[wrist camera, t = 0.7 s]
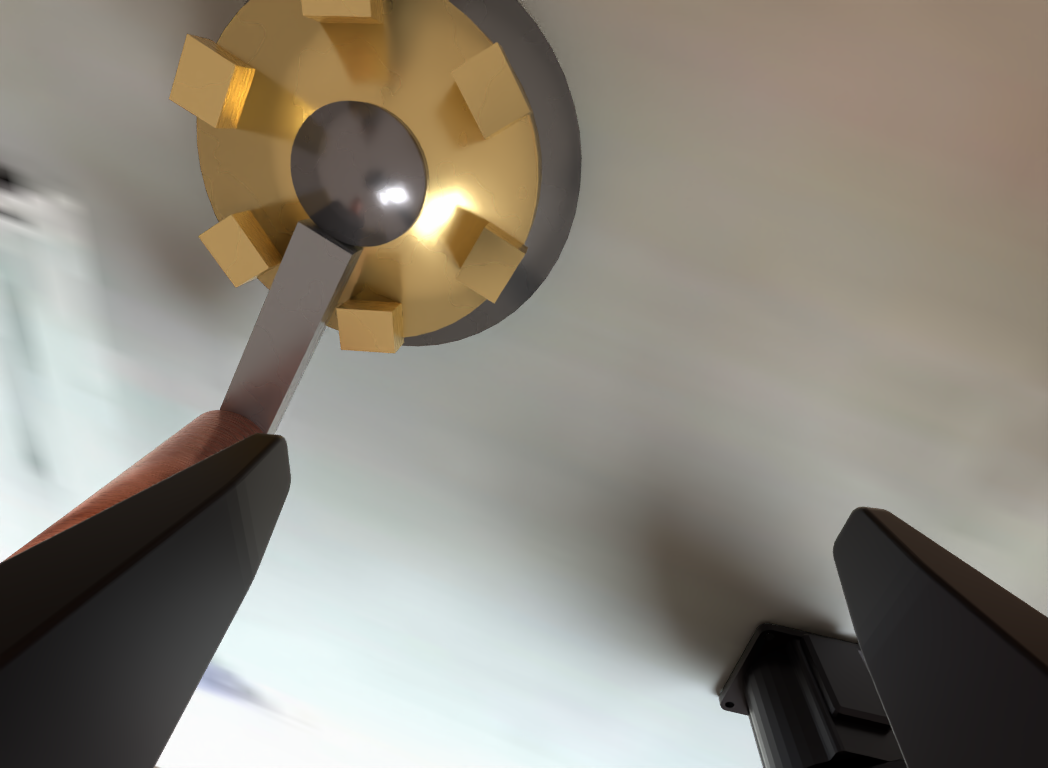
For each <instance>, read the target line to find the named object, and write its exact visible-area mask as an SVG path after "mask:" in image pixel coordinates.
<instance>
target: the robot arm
mask: <svg viewBox="0 0 1048 768" xmlns="http://www.w3.org/2000/svg"><path fill="white" fill-rule="evenodd" d="M290 483H291V474H290V466H289V457H288V449H287V443H286V440H285V438H284V437H282V436H280V435H273V434H265V433H255V434H253V435H251V436H249V437H247V438H245V439H243V440H241V441H239V442H237V443H235V444H233V445H231V446H229V447H227V448H225V449H223V450H221V451H219V452H217V453H215V454H213V455H211V456H209V457H207V458H205V459H204V460H202V461H200V462H198V463H196V464H194V465H192V466H190V467H188V468H186V469H184V470H182V471H180V472H178V473H176V474H174V475H172V476H170V477H168V478H166V479H164V480H162V481H160V482H158V483H156V484H154V485H152V486H150V487H149V488H147V489H145V490H143V491H141V492H139V493H137V494H135V495H133V496H131V497H129V498H127V499H125V500H123V501H121V502H119V503H117V504H115V505H113V506H111V507H109V508H107V509H105V510H103V511H101V512H99V513H97V514H95V515H94V516H92V517H90V518H88V519H86V520H84V521H82V522H80V523H78V524H76V525H74V526H72V527H70V528H68V529H66V530H64V531H62V532H60V533H58V534H56V535H54V536H52V537H50V538H48V539H46V540H44V541H42V542H40V543H38V544H36V545H35V546H33V547H31V548H29V549H27V550H25V551H23V552H21V553H19V554H17V555H15V556H13V557H11V558H9V559H7V560H5V561H3V562H1V563H0V768H154V767H155V765H156V763H157V761H158V759H159V757H160V755H161V753H162V752H163V750H164V748H165V746H166V744H167V742H168V740H169V738H170V737H171V735H172V733H173V731H174V729H175V727H176V725H177V723H178V722H179V720H180V718H181V716H182V714H183V712H184V710H185V708H186V706H187V705H188V703H189V701H190V699H191V697H192V695H193V693H194V691H195V690H196V688H197V686H198V684H199V682H200V680H201V678H202V676H203V675H204V673H205V671H206V669H207V667H208V665H209V663H210V661H211V660H212V658H213V656H214V654H215V652H216V650H217V648H218V646H219V644H220V643H221V641H222V639H223V637H224V635H225V633H226V631H227V629H228V628H229V626H230V624H231V622H232V620H233V618H234V616H235V614H236V613H237V611H238V609H239V607H240V605H241V603H242V601H243V599H244V597H245V596H246V594H247V592H248V590H249V588H250V586H251V584H252V582H253V580H254V577H255V575H256V573H257V570H258V568H259V566H260V563H261V560H262V558H263V555H264V553H265V550H266V548H267V545H268V543H269V540H270V538H271V535H272V533H273V530H274V528H275V525H276V522H277V520H278V517H279V515H280V512H281V510H282V507H283V505H284V502H285V500H286V497H287V495H288V492H289V488H290ZM833 556H834V561H835V564H836V568H837V571H838V574H839V578H840V581H841V585H842V588H843V592H844V595H845V599H846V602H847V606H848V609H849V613H850V616H851V619H852V623H853V626H854V630H855V633H856V636H857V640H858V643H859V644H855V643H851V642H846V641H842V640H838V639H833V638H829V637H825V636H821V635H816V634H812V633H808V632H804V631H799V630H795V629H791V628H786V627H782V626H778V625H774V624H767V623H766V624H762V625H760V626H759V627H758V628H757V630H756V632H755V633H754V635H753V637H752V639H751V640H750V642H749V644H748V646H747V648H746V649H745V651H744V653H743V655H742V656H741V658H740V660H739V662H738V664H737V665H736V667H735V669H734V671H733V673H732V674H731V676H730V678H729V680H728V681H727V683H726V685H725V687H724V689H723V690H722V692H721V694H720V696H719V701H720V705H721V708H723V709H724V710H727V711H731V712H735V713H740V714H744V715H748V716H749V719H750V723H751V726H752V730H753V733H754V737H755V741H756V744H757V748H758V751H759V755H760V758H761V762H762V765H763V768H1048V617H1046V616H1045V615H1043V614H1042V613H1040V612H1039V611H1037V610H1036V609H1034V608H1033V607H1031V606H1030V605H1028V604H1027V603H1025V602H1024V601H1022V600H1021V599H1019V598H1018V597H1016V596H1015V595H1013V594H1012V593H1010V592H1009V591H1007V590H1006V589H1004V588H1003V587H1001V586H1000V585H998V584H997V583H995V582H994V581H992V580H991V579H989V578H988V577H986V576H985V575H983V574H982V573H980V572H979V571H977V570H976V569H974V568H973V567H971V566H970V565H968V564H967V563H965V562H964V561H962V560H961V559H959V558H958V557H956V556H955V555H953V554H952V553H950V552H949V551H947V550H946V549H944V548H943V547H941V546H940V545H938V544H937V543H935V542H934V541H932V540H931V539H929V538H928V537H926V536H925V535H923V534H922V533H920V532H919V531H917V530H916V529H914V528H913V527H911V526H910V525H908V524H907V523H905V522H904V521H902V520H901V519H899V518H898V517H896V516H895V515H893V514H892V513H890V512H889V511H887V510H884V509H878V508H870V507H858V508H856V509H855V510H853V512H852V513H851V515H850V516H849V518H848V520H847V522H846V523H845V525H844V527H843V528H842V530H841V532H840V534H839V535H838V537H837V539H836V541H835V543H834V547H833ZM768 633H769V634H768Z"/></svg>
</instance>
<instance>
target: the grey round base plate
mask: <svg viewBox="0 0 1048 768" xmlns="http://www.w3.org/2000/svg"><path fill="white" fill-rule="evenodd" d="M249 1H250V0H247V2H246V3H245V5H246V4H247V3H248V2H249ZM448 1H449V2H451V3H452V4H453V5H454V6H455V7H457V8H458V9H459V10H460V11H461V12H463V13H464V14H465V15H466V16H467V17H468V18H469V19H470V20H471V21H472V22H473V23H475V24H476V25H477V26H478V27H479V28H480V29H481V30H482V31H483V32H484V34H485V35H486V36H487V37H488V38H489V39H490V40H491V41H492V42H493V43H496V42H498V43H499V44H500V45H501V46H502V47H503V50H504V52H505V54H506V56H507V58H508V60H509V62H510V64H511V67H512V68H513V70H514V72H515V73H516V75H517V77H518V79H519V81H520V83H521V84H522V86H523V88H524V90H525V93H526V95H527V98H528V100H529V103H530V105H531V108H532V110H533V114H534V118H535V122H536V125H537V129H538V133H539V140H540V147H541V155H542V181H541V191H540V199H539V203H538V208H537V212H536V216H535V220H534V222H533V225H532V228H531V230H530V233H529V236H528V238H527V240H526V242H525V244H524V245H525V246H527V247H528V249H527V251H526V254H525V255H524V257H523V258H522V260H521V262H520V263H519V265H518V266H517V268H516V270H515V271H514V273H513V274H512V276H511V278H510V279H509V281H508V282H507V284H506V286H505V287H504V289H503V290H502V292H501V294H500V295H499V297H498V299H497V300H496V302H495V303H492V302H491V301H489V300H488V299H486V300H485V302H483V303H482V304H481V305H480V306H478V307H477V308H476V309H474V310H473V311H472V312H471V313H469V314H468V315H466V316H464V317H463V318H461V319H459V320H458V321H456V322H454V323H453V324H450V325H448V326H445V327H443V328H441V329H438V330H436V331H433V332H429V333H425V334H421V335H418V336H411V337H404V343H403V344H402V346H427V345H439V344H443V343H448V342H453V341H458V340H461V339H464V338H467V337H469V336H472V335H475V334H478V333H480V332H482V331H484V330H486V329H488V328H490V327H492V326H494V325H495V324H497V323H499V322H500V321H502V320H503V319H505V318H506V317H507V316H509V315H510V314H512V313H513V312H515V311H516V310H517V309H518V308H519V307H520V306H521V305H522V304H523V303H524V302H525V301H527V300H528V299H529V298H530V297H531V296H532V295H533V293H534V292H535V291H536V290H537V289H538V287H539V286H540V285H541V284H542V282H543V281H544V280H545V279H546V277H547V276H548V274H549V272H550V271H551V269H552V268H553V266H554V264H555V263H556V261H557V260H558V258H559V255H560V253H561V251H562V249H563V247H564V245H565V242H566V240H567V238H568V235H569V232H570V229H571V226H572V222H573V219H574V216H575V212H576V207H577V201H578V196H579V190H580V178H581V159H582V157H581V143H580V131H579V126H578V121H577V115H576V110H575V106H574V103H573V100H572V96H571V93H570V90H569V87H568V84H567V81H566V78H565V75H564V73H563V71H562V69H561V67H560V65H559V63H558V60H557V58H556V56H555V54H554V52H553V50H552V48H551V46H550V45H549V43H548V42H547V40H546V38H545V37H544V35H543V34H542V32H541V31H540V29H539V27H538V26H537V24H536V23H535V22H534V20H533V19H532V18H531V17H530V15H529V14H528V13H527V12H526V11H525V9H524V8H523V7H522V6H521V5H520V3H519V2H518V1H517V0H448ZM245 5H244V6H245Z"/></svg>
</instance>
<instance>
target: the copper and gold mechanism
mask: <svg viewBox="0 0 1048 768" xmlns="http://www.w3.org/2000/svg"><path fill="white" fill-rule="evenodd" d="M169 99H170V100H171V101H173V102H175V103H176V104H178V105H179V106H181V107H183V108H184V109H186V110H187V111H189V112H191V113H192V114H194V115H195V116H197V146H198V154H199V161H200V168H201V172H202V176H203V180H204V184H205V187H206V191H207V194H208V197H209V200H210V202H211V205H212V208H213V210H214V213H215V215H216V217H217V219H218V221H219V223H218V224H216V225H215V226H213V227H212V228H210V229H208V230H207V231H205V232H204V233H202V234H201V235H199V236H198V237H199V238H200V239H201V241H202V242H203V244H204V245H205V246H206V248H207V249H208V250H209V252H210V253H211V254H212V256H213V257H214V259H215V260H216V261H217V263H218V264H219V265H220V267H221V268H222V270H223V271H224V272H225V274H226V275H227V276H228V278H229V279H230V281H231V282H232V283H233V285H234V286H235V287H239V286H241V285H243V284H245V283H247V282H250V281H252V280H254V279H255V278H258V279H259V280H260V281H261V282H262V283H263V284H264V285H265V286H266V287H267V288H268V289H269V293H268V295H267V297H266V300H265V302H264V305H263V307H262V309H261V312H260V314H259V317H258V319H257V322H256V324H255V326H254V329H253V331H252V334H251V336H250V338H249V341H248V343H247V346H246V348H245V350H244V353H243V355H242V358H241V360H240V362H239V365H238V367H237V370H236V372H235V374H234V377H233V379H232V382H231V384H230V386H229V389H228V391H227V394H226V396H225V398H224V401H223V403H222V406H221V408H220V410H214V411H209V412H206V413H204V414H202V415H200V416H199V417H197V418H196V419H194V420H193V421H192V422H190V423H189V424H188V425H186V426H185V427H184V428H182V429H181V430H180V431H178V432H177V433H176V434H174V435H173V436H172V437H170V438H169V439H168V440H166V441H165V442H163V443H162V444H161V445H159V446H158V447H157V448H155V449H154V450H153V451H151V452H150V453H149V454H147V455H146V456H145V457H143V458H142V459H141V460H139V461H138V462H136V463H135V464H134V465H132V466H131V467H130V468H128V469H127V470H126V471H124V472H123V473H122V474H120V475H119V476H118V477H116V478H115V479H114V480H112V481H111V482H109V483H108V484H107V485H105V486H104V487H103V488H101V489H100V490H99V491H97V492H96V493H95V494H93V495H92V496H91V497H89V498H88V499H87V500H85V501H84V502H83V503H81V504H80V505H78V506H77V507H76V508H74V509H73V510H72V511H70V512H69V513H68V514H66V515H65V516H64V517H62V518H61V519H60V520H58V521H57V522H56V523H54V524H53V525H51V526H50V527H49V528H47V529H46V530H45V531H43V532H42V533H41V534H39V535H38V536H37V537H35V538H34V539H33V540H31V541H30V542H29V543H27V544H26V545H24V546H23V547H22V548H20V549H19V550H18V551H16V552H15V553H14V554H12V555H11V556H10V557H8V558H7V559H9V558H11V557H13V556H15V555H17V554H19V553H21V552H23V551H25V550H27V549H29V548H31V547H33V546H35V545H36V544H38V543H40V542H42V541H44V540H46V539H48V538H50V537H52V536H54V535H56V534H58V533H60V532H62V531H64V530H66V529H68V528H70V527H72V526H74V525H76V524H78V523H80V522H82V521H84V520H86V519H88V518H90V517H92V516H94V515H95V514H97V513H99V512H101V511H103V510H105V509H107V508H109V507H111V506H113V505H115V504H117V503H119V502H121V501H123V500H125V499H127V498H129V497H131V496H133V495H135V494H137V493H139V492H141V491H143V490H145V489H147V488H149V487H150V486H152V485H154V484H156V483H158V482H160V481H162V480H164V479H166V478H168V477H170V476H172V475H174V474H176V473H178V472H180V471H182V470H184V469H186V468H188V467H190V466H192V465H194V464H196V463H198V462H200V461H202V460H204V459H205V458H207V457H209V456H211V455H213V454H215V453H217V452H219V451H221V450H223V449H225V448H227V447H229V446H231V445H233V444H235V443H237V442H239V441H241V440H243V439H245V438H247V437H249V436H251V435H253V434H255V433H265V434H273V435H274V434H275V432H276V430H277V428H278V425H279V423H280V421H281V419H282V417H283V415H284V413H285V411H286V409H287V407H288V405H289V403H290V401H291V399H292V396H293V394H294V392H295V390H296V388H297V386H298V384H299V382H300V380H301V378H302V376H303V374H304V372H305V369H306V367H307V365H308V363H309V361H310V359H311V357H312V355H313V353H314V351H315V349H316V347H317V345H318V343H319V340H320V338H321V336H322V334H323V332H324V330H325V328H326V326H328V327H331V328H333V329H336V330H339V336H340V344H341V350H354V351H369V352H383V353H396V351H397V350H398V349H399V348H400V347H401V345H402V344H403V343H404V337H411V336H418V335H421V334H425V333H429V332H433V331H436V330H438V329H441V328H443V327H445V326H448V325H450V324H453V323H454V322H456V321H458V320H459V319H461V318H463V317H464V316H466V315H468V314H469V313H471V312H472V311H473V310H474V309H476V308H477V307H478V306H480V305H481V304H482V303H483V302H485V300H486V299H488V300H489V301H491V302H492V303H495V302H496V300H497V299H498V297H499V295H500V294H501V292H502V290H503V289H504V287H505V286H506V284H507V282H508V281H509V279H510V278H511V276H512V274H513V273H514V271H515V270H516V268H517V266H518V265H519V263H520V262H521V260H522V258H523V257H524V255H525V254H526V251H527V249H528V247H527V246H525V245H524V244H525V242H526V240H527V238H528V236H529V233H530V230H531V228H532V225H533V222H534V220H535V216H536V212H537V208H538V203H539V199H540V191H541V181H542V155H541V147H540V140H539V133H538V129H537V125H536V122H535V118H534V114H533V110H532V108H531V105H530V103H529V100H528V98H527V95H526V93H525V90H524V88H523V86H522V84H521V83H520V81H519V79H518V77H517V75H516V73H515V72H514V70H513V68H512V67H511V64H510V62H509V60H508V58H507V56H506V54H505V52H504V50H503V47H502V46H501V45H500V44H499V43H498V42H496V43H493V42H492V41H491V40H490V39H489V38H488V37H487V36H486V35H485V34H484V32H483V31H482V30H481V29H480V28H479V27H478V26H477V25H476V24H475V23H473V22H472V21H471V20H470V19H469V18H468V17H467V16H466V15H465V14H464V13H463V12H461V11H460V10H459V9H458V8H457V7H455V6H454V5H453V4H452V3H451V2H449V1H448V0H250V1H249V2H248V3H247V4H246V5H245V6H243V7H242V8H241V9H240V10H239V11H238V13H237V14H236V15H235V16H234V18H233V19H232V20H231V22H230V23H229V24H228V25H227V27H226V28H225V29H224V31H223V33H222V35H221V36H220V38H219V40H218V42H217V44H216V43H215V42H213V41H212V40H210V39H206V38H202V37H198V36H194V35H190V34H187V36H186V40H185V43H184V47H183V51H182V54H181V58H180V61H179V65H178V69H177V72H176V76H175V79H174V83H173V86H172V90H171V94H170V97H169ZM7 559H6V560H7ZM4 561H5V560H4Z"/></svg>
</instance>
